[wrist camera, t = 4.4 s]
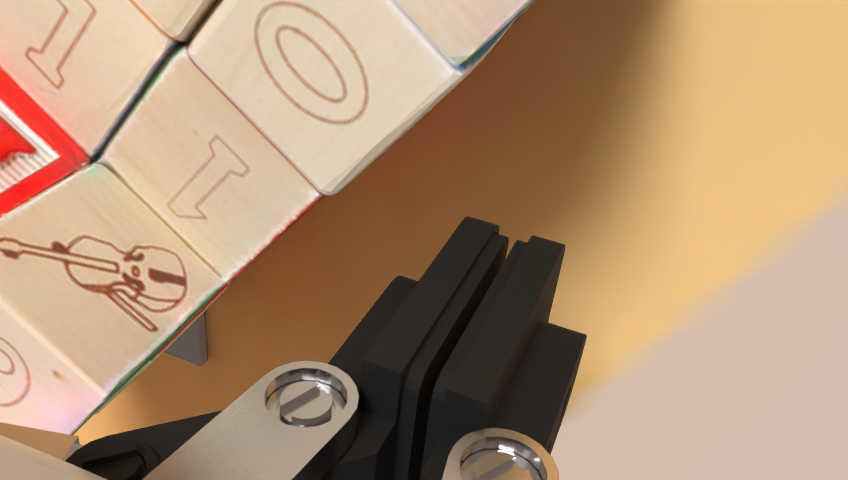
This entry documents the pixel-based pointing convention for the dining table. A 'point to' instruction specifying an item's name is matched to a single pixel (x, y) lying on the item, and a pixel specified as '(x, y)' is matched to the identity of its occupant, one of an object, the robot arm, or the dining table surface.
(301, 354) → the dining table surface
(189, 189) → the stack of blocks
